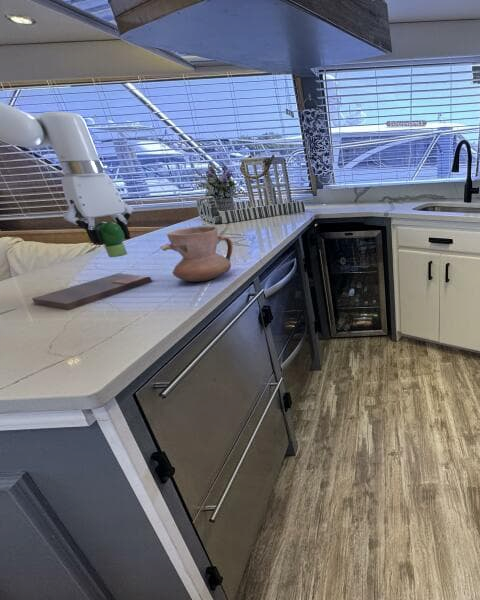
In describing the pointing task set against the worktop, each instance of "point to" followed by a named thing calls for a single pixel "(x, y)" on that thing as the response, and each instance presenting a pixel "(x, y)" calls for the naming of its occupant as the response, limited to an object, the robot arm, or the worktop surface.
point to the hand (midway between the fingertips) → (112, 240)
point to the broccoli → (112, 238)
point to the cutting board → (91, 291)
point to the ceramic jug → (199, 253)
